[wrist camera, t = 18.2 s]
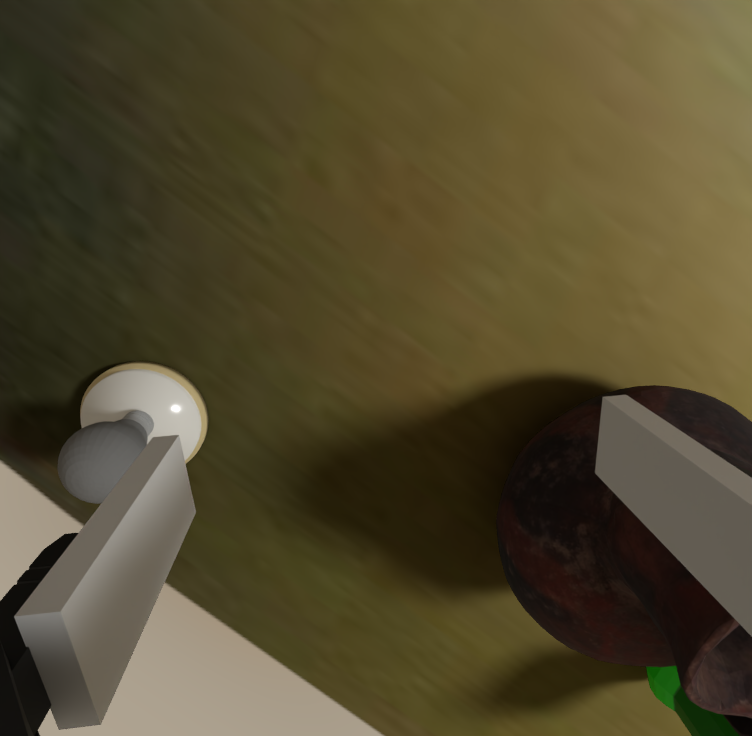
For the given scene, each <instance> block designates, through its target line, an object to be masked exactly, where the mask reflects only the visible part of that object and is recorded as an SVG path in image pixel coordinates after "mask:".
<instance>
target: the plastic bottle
mask: <svg viewBox="0 0 752 736" xmlns="http://www.w3.org/2000/svg"><path fill="white" fill-rule="evenodd" d="M646 670H647V676H648V681H649V685H650V688H651V690H652V691H653V693H654V695H655V696H656V698H658V699H659V700H660V701H661V702H662V703H664V704H665V705H666V706H668V707H669V708H671V709H672V710H674V711H675V712H676V713H677V714H678V716H679V717H680V718H681V720H682V721H683V723H684V724H685V726H686V727H687V729H688V730H689V732H690V733H691V735H692V736H740V735H739V734H738V733H737V732H736V731H735V730H734V729H733V727H732V726H731V725H730V723H729V722H728V721H727V719H726V718H725V717H724V716H723V714H717V713H714V712H711V711H708V710H705V709H703V708H701V707H699V706H698V705H696V704H694V703H693V702H692V701H690V700H689V699H688V698H687V696H686V694H685V692H684V690H683V689H682V687H681V685H680V680H679V676H678V672H677V667H676V666H669V667H646Z"/></svg>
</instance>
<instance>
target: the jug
mask: <svg viewBox="0 0 752 736" xmlns="http://www.w3.org/2000/svg"><path fill="white" fill-rule="evenodd" d="M617 395H627V396H629V397H630V398H632V399H633V400H635V401H636V402H638V403H639V404H641V405H642V406H644V407H645V408H647V409H648V410H650V411H651V412H653V413H654V414H656V415H657V416H659V417H661V418H662V419H664V420H665V421H667V422H668V423H670V424H671V425H673V426H674V427H676V428H677V429H679V430H680V431H682V432H683V433H685V434H686V435H688V436H689V437H691V438H692V439H694V440H695V441H697V442H698V443H700V444H701V445H703V446H704V447H706V448H707V449H709V450H710V451H712V452H713V453H715V454H716V455H718V456H719V457H721V458H722V459H724V460H725V461H727V462H728V463H730V464H731V465H733V466H739V467H742V468H744V469H747V470H749V471H752V422H751V421H750V420H748V419H747V418H746V417H745V416H743V415H742V414H741V413H739V412H738V411H737V410H735V409H734V408H733V407H731V406H729V405H727V404H726V403H724V402H722V401H720V400H718V399H716V398H714V397H711V396H708V395H706V394H702V393H699V392H695V391H691V390H687V389H681V388H675V387H669V386H655V385H653V386H637V387H631V388H625V389H620V390H616V391H613V392H609V393H606V394H603V395H600V396H597V397H594V398H592V399H590V400H588V401H585V402H583V403H581V404H580V405H578V406H576V407H574V408H573V409H571V410H569V411H567V412H566V413H564V414H563V415H561V416H560V417H558V418H557V419H555V420H554V421H553V422H551V423H550V424H549V425H547V426H546V427H544V428H543V429H542V430H541V431H540V432H539V433H538V434H537V435H536V436H535V437H533V439H532V440H531V441H530V442H529V443H528V444H527V445H526V446H525V447H524V449H523V450H522V451H521V453H520V454H519V455H518V457H517V459H516V461H515V462H514V464H513V466H512V469H511V471H510V473H509V476H508V478H507V480H506V483H505V486H504V488H503V491H502V495H501V499H500V502H499V507H498V512H497V519H496V525H497V537H498V545H499V552H500V556H501V561H502V565H503V569H504V572H505V576H506V579H507V581H508V583H509V585H510V587H511V589H512V591H513V593H514V594H515V596H516V597H517V599H518V601H519V602H520V603H521V605H522V606H523V608H524V609H525V610H526V611H527V612H528V613H529V614H530V616H531V617H532V618H533V619H534V620H535V621H536V622H537V623H538V624H539V625H540V626H541V627H542V628H543V629H545V630H546V631H547V632H548V633H549V634H551V635H552V636H553V637H554V638H555V639H557V640H558V641H560V642H561V643H563V644H564V645H566V646H567V647H569V648H571V649H573V650H575V651H578V652H580V653H582V654H585V655H587V656H589V657H592V658H594V659H597V660H600V661H605V662H609V663H615V664H623V665H633V666H645V667H669V666H676V667H677V672H678V676H679V680H680V685H681V687H682V689H683V690H684V692H685V694H686V696H687V698H688V699H689V700H690V701H692V702H693V703H694V704H696V705H698V706H699V707H701V708H703V709H705V710H708V711H711V712H714V713H717V714H723V716H724V717H725V718H726V719H727V721H728V722H729V723H730V725H731V726H732V727H733V729H734V730H735V731H736V732H737V733H738V734H739V735H740V736H752V636H751V635H750V634H749V633H748V632H747V631H746V630H745V629H744V628H743V627H742V626H741V625H740V624H739V623H738V622H737V621H736V620H735V619H734V617H733V616H732V615H731V614H730V613H729V612H728V611H727V610H726V609H725V608H724V607H723V606H722V605H721V604H720V603H719V602H718V601H717V600H716V599H715V598H714V597H713V596H712V595H711V594H710V592H709V591H708V590H707V589H706V588H705V587H704V586H703V585H702V584H701V583H700V582H699V581H698V580H697V579H696V578H695V577H694V576H693V575H692V574H691V573H690V572H689V571H688V570H687V568H686V567H685V566H684V565H683V564H682V563H681V562H680V561H679V560H678V559H677V558H676V557H675V556H674V555H673V554H672V553H671V552H670V551H669V550H668V549H667V548H666V547H665V546H664V544H663V543H662V542H661V541H660V540H659V539H658V538H657V537H656V536H655V535H654V534H653V533H652V532H651V531H650V530H649V529H648V528H647V527H646V526H645V525H644V524H643V523H642V522H641V521H640V519H639V518H638V517H637V516H636V515H635V514H634V513H633V512H632V511H631V510H630V509H629V508H628V507H627V506H626V505H625V504H624V503H623V502H622V501H621V500H620V499H619V498H618V497H617V495H616V494H615V493H614V492H613V491H612V490H611V489H610V488H609V487H608V486H607V485H606V484H605V483H604V482H603V481H602V480H601V479H600V478H599V477H598V476H597V475H596V474H595V467H596V457H597V447H598V437H599V428H600V418H601V408H602V398H603V397H606V396H617Z"/></svg>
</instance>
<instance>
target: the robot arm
mask: <svg viewBox="0 0 752 736" xmlns="http://www.w3.org/2000/svg"><path fill="white" fill-rule="evenodd" d="M595 474H596V475H597V476H598V477H599V478H600V479H601V480H602V481H603V482H604V483H605V484H606V485H607V486H608V487H609V488H610V489H611V490H612V491H613V492H614V493H615V494H616V495H617V497H618V498H619V499H620V500H621V501H622V502H623V503H624V504H625V505H626V506H627V507H628V508H629V509H630V510H631V511H632V512H633V513H634V514H635V515H636V516H637V517H638V518H639V519H640V521H641V522H642V523H643V524H644V525H645V526H646V527H647V528H648V529H649V530H650V531H651V532H652V533H653V534H654V535H655V536H656V537H657V538H658V539H659V540H660V541H661V542H662V543H663V544H664V546H665V547H666V548H667V549H668V550H669V551H670V552H671V553H672V554H673V555H674V556H675V557H676V558H677V559H678V560H679V561H680V562H681V563H682V564H683V565H684V566H685V567H686V568H687V570H688V571H689V572H690V573H691V574H692V575H693V576H694V577H695V578H696V579H697V580H698V581H699V582H700V583H701V584H702V585H703V586H704V587H705V588H706V589H707V590H708V591H709V592H710V594H711V595H712V596H713V597H714V598H715V599H716V600H717V601H718V602H719V603H720V604H721V605H722V606H723V607H724V608H725V609H726V610H727V611H728V612H729V613H730V614H731V615H732V616H733V617H734V619H735V620H736V621H737V622H738V623H739V624H740V625H741V626H742V627H743V628H744V629H745V630H746V631H747V632H748V633H749V634H750V635H751V636H752V471H749V470H747V469H744V468H742V467H739V466H733V465H731V464H730V463H728V462H727V461H725V460H724V459H722V458H721V457H719V456H718V455H716V454H715V453H713V452H712V451H710V450H709V449H707V448H706V447H704V446H703V445H701V444H700V443H698V442H697V441H695V440H694V439H692V438H691V437H689V436H688V435H686V434H685V433H683V432H682V431H680V430H679V429H677V428H676V427H674V426H673V425H671V424H670V423H668V422H667V421H665V420H664V419H662V418H661V417H659V416H657V415H656V414H654V413H653V412H651V411H650V410H648V409H647V408H645V407H644V406H642V405H641V404H639V403H638V402H636V401H635V400H633V399H632V398H630V397H629V396H627V395H617V396H606V397H603V398H602V408H601V418H600V428H599V437H598V447H597V457H596V467H595ZM195 513H196V511H195V506H194V501H193V497H192V492H191V488H190V483H189V478H188V474H187V469H186V465H185V460H184V455H183V451H182V446H181V442H180V437H179V435H171V436H160V437H153V438H152V439H151V440H150V442H149V443H148V444H147V446H146V447H145V448H144V449H143V451H142V452H141V453H140V455H139V456H138V457H137V458H136V460H135V461H134V462H133V464H132V465H131V466H130V467H129V469H128V470H127V471H126V473H125V474H124V475H123V477H122V478H121V479H120V480H119V482H118V483H117V484H116V486H115V487H114V488H113V489H112V491H111V492H110V493H109V495H108V496H107V497H106V498H105V500H104V501H103V502H102V504H101V505H100V506H99V507H98V509H97V510H96V511H95V513H94V514H93V515H92V517H91V518H90V519H89V520H88V522H87V523H86V524H85V526H84V527H83V528H82V529H81V531H80V532H79V533H71V534H64V535H63V536H62V537H60V538H59V539H58V540H56V541H55V542H53V543H52V544H51V545H49V546H48V547H47V548H45V549H44V550H43V551H42V552H41V553H40V555H39V556H38V557H37V558H36V559H35V560H34V562H33V563H32V564H31V565H30V566H29V570H26V571H25V573H24V574H23V575H22V576H21V577H20V578H19V580H18V581H17V585H14V586H13V587H12V588H11V589H10V590H9V592H8V593H7V594H6V595H5V596H4V597H3V599H2V600H1V601H0V736H40V735H39V733H38V729H39V727H40V725H41V723H42V721H43V720H44V718H45V716H46V714H47V713H48V711H49V709H50V708H51V711H52V714H53V716H54V719H55V721H56V724H57V726H58V729H59V730H60V729H68V728H77V727H85V726H92V725H100V724H101V723H102V720H103V718H104V716H105V713H106V712H107V709H108V707H109V705H110V703H111V700H112V698H113V696H114V694H115V691H116V689H117V687H118V685H119V683H120V680H121V678H122V676H123V673H124V671H125V669H126V667H127V665H128V662H129V660H130V658H131V656H132V654H133V651H134V649H135V647H136V644H137V642H138V640H139V638H140V636H141V633H142V631H143V629H144V627H145V624H146V622H147V620H148V618H149V616H150V613H151V611H152V609H153V606H154V605H155V602H156V600H157V598H158V596H159V593H160V591H161V589H162V586H163V584H164V582H165V580H166V578H167V576H168V573H169V571H170V569H171V567H172V564H173V562H174V560H175V558H176V556H177V553H178V551H179V549H180V547H181V544H182V542H183V540H184V538H185V535H186V533H187V531H188V529H189V527H190V524H191V522H192V520H193V518H194V515H195Z"/></svg>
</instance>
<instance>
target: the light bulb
mask: <svg viewBox="0 0 752 736" xmlns="http://www.w3.org/2000/svg"><path fill="white" fill-rule="evenodd" d="M153 428H154V422H153V419H152V418H151V416H150V415H149V414H147V413H146V412H143V411H139V410H135V411H131V412H129V413H127V414H126V415H125V416H124V417H123V418H122V419H121V420H117V421H115V422H112V421H103V422H97V423H94V424H91V425H88V426H85V427H84V428H82V429H80V430H79V431H77V432H75V433H74V434H73V435H72V436H71V437H70V438H69V439H68V440H67V441H66V442H65V444H64V445H63V447H62V449H61V452H60V455H59V458H58V473H59V477H60V479H61V482H62V484H63V485H64V487H65V488H66V489H67V490H68V491H69V492H70V493H71V494H72V495H73V496H75V497H77V498H79V499H81V500H83V501H86V502H90V503H102V502H103V501H104V500H105V498H106V497H107V496H108V495H109V493H110V492H111V491H112V489H113V488H114V487H115V486H116V484H117V483H118V482H119V480H120V479H121V478H122V477H123V475H124V474H125V473H126V471H127V470H128V469H129V467H130V466H131V465H132V464H133V462H134V461H135V460H136V458H137V457H138V456H139V455H140V453H141V452H142V451H143V449H144V448H145V447H146V446H147V440H148V436H149V435H150V433H151V432H152V431H153Z"/></svg>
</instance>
